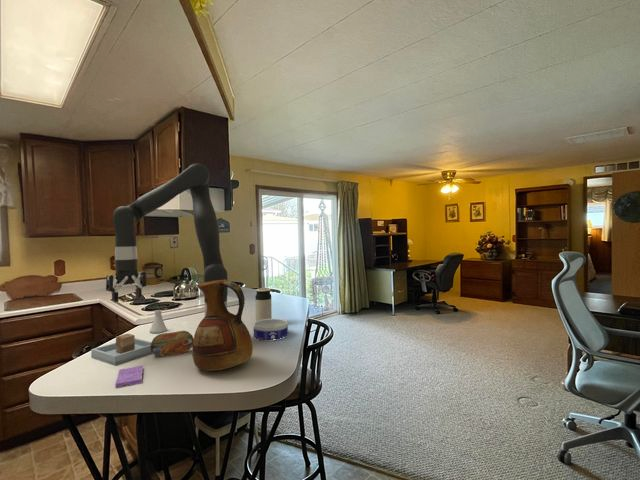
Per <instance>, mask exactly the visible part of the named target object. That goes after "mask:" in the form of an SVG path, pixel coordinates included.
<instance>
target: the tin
mask: <svg viewBox="0 0 640 480" xmlns="http://www.w3.org/2000/svg"><path fill="white" fill-rule="evenodd" d="M193 340H194V336H193V334H192V333H190V332H189V331H186V330H179V331H177V330H176V331H171V332H165V333H164V332H162V333H158V335H156V336H154V338H153V339H152V341H150V342H151V346H150V348H151V352H152V353H151V354H153V356H155V357H159V358H163V357H169V356H174V355H181V354H186V353H187V352H189V351H190V350H192V346H193Z"/></svg>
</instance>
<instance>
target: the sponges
mask: <svg viewBox="0 0 640 480" xmlns="http://www.w3.org/2000/svg"><path fill="white" fill-rule="evenodd" d="M143 371H144V365H143V364H142V365H137V366H132V367H127V368H121V369H120V368H119V369H118V373H117V377H116V380H115V384H114V387H115V388H114V389H116V388H117V387H118V388H121V386H123V387H127V386H126V385H128V386H131V385H130V384H133V385H136V384H135V383H138V384H141V383H140V382H143V375H142V374H143Z"/></svg>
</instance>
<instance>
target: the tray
mask: <svg viewBox="0 0 640 480" xmlns="http://www.w3.org/2000/svg"><path fill="white" fill-rule="evenodd" d="M151 342H152V341H149V340H145V339H141V338H136V337H135V350H132V351H128V352H125V353H122V354H120V353H117V352H116V342H113V343H109V344H105V345H102V346H98V347H94V348H92V349H90V354H91V355H90V356H91V358H93V359H95V360H98V361H101V362H104V363H106V364H107V363H108V364H110V365H112V366H113V365H114V366H116V365H119V364H120V365H121V364H123V363H126V362H129V361H132V360H135V359H138V358H141V357H145V356H147V355H150V354H153V353H152V352H151V348H150V346H151Z"/></svg>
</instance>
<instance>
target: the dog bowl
mask: <svg viewBox="0 0 640 480" xmlns="http://www.w3.org/2000/svg"><path fill="white" fill-rule="evenodd" d="M288 333H289V322H288V321H287V320H286V319H280V318H272V319H264V320H259V321H256V320H255V322H254V323H253V338H254V337H255V338H256V339H255V338H254V339H255V340H257V339H260V340H259V341H262V340H273V339H280V338H283V337H285V338H287V337H288ZM286 336H287V337H286ZM283 339H284V338H283ZM280 340H281V339H280Z"/></svg>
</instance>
